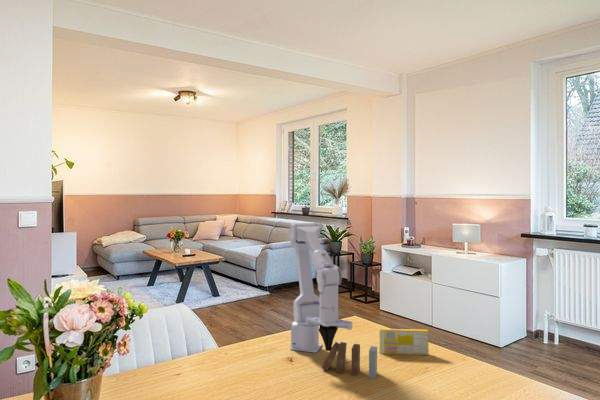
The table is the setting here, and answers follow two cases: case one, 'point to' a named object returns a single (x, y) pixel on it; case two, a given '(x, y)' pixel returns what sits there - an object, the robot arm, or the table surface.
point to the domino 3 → (355, 360)
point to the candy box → (403, 341)
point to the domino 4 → (372, 362)
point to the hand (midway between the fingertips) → (328, 349)
